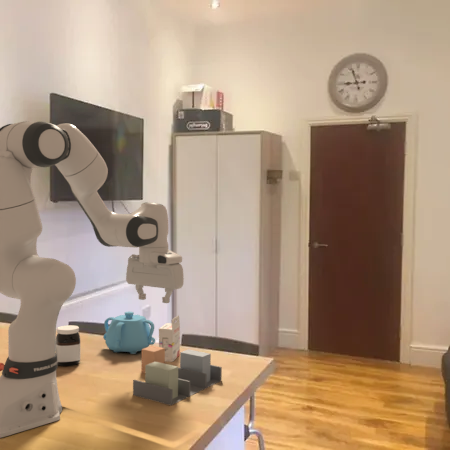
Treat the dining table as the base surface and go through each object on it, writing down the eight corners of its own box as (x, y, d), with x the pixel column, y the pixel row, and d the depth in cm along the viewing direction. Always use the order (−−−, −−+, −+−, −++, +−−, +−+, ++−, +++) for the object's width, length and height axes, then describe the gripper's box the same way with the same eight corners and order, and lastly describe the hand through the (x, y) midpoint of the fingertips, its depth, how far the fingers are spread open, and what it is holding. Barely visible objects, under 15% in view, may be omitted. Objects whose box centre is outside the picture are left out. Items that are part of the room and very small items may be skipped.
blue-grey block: (202, 384, 154) (202, 356, 153) (180, 379, 158) (180, 352, 158) (210, 380, 157) (210, 353, 157) (188, 375, 161) (188, 349, 161)
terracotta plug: (154, 378, 162) (154, 351, 162) (141, 375, 165) (141, 349, 165) (164, 373, 166) (164, 348, 166) (152, 370, 169) (152, 345, 169)
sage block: (168, 400, 141) (168, 370, 141) (145, 394, 145) (145, 365, 145) (178, 396, 144) (178, 366, 144) (155, 390, 149) (155, 361, 148)
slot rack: (170, 409, 138) (171, 389, 138) (133, 398, 145) (133, 380, 145) (221, 383, 158) (221, 367, 157) (185, 375, 165) (186, 359, 164)
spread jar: (82, 366, 173) (82, 330, 172) (44, 370, 169) (44, 333, 168) (77, 356, 184) (77, 322, 184) (42, 359, 180) (42, 324, 179)
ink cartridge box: (166, 356, 185) (166, 313, 184) (180, 357, 184) (180, 314, 183) (157, 363, 176) (158, 319, 176) (172, 365, 175) (172, 320, 175)
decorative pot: (146, 342, 203) (146, 306, 203) (157, 353, 188) (157, 314, 188) (102, 346, 197) (102, 309, 196) (110, 358, 182) (110, 318, 182)
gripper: (121, 254, 167) (121, 299, 168) (173, 259, 156) (173, 306, 157) (135, 253, 172) (135, 296, 173) (186, 257, 161) (186, 303, 162)
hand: (153, 301), depth 165 cm, fingers open, 8 cm apart
